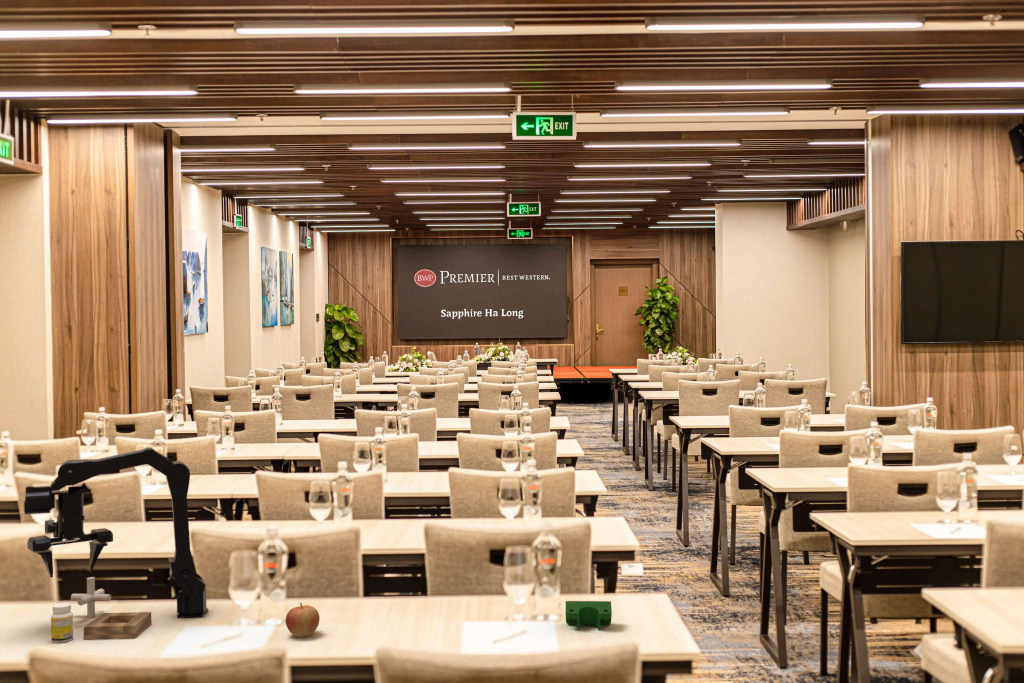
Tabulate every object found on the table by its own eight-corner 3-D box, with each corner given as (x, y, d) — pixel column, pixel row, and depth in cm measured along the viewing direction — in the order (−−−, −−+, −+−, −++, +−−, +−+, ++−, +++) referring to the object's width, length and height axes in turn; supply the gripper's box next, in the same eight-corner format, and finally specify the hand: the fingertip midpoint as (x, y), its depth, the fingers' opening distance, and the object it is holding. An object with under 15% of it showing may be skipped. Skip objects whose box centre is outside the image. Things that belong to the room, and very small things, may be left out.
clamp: (574, 647, 233) (558, 615, 231) (574, 633, 239) (559, 603, 237) (619, 629, 231) (604, 598, 229) (618, 617, 237) (603, 586, 235)
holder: (151, 623, 241) (151, 611, 241) (134, 638, 229) (134, 625, 229) (102, 625, 241) (102, 613, 241) (83, 639, 229) (83, 626, 229)
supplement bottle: (56, 637, 230) (55, 602, 231) (76, 636, 231) (75, 601, 231) (48, 643, 226) (47, 607, 226) (68, 642, 226) (68, 607, 226)
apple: (289, 642, 225) (288, 608, 225) (282, 633, 232) (282, 600, 232) (323, 638, 228) (322, 604, 228) (316, 629, 235) (315, 596, 235)
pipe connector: (119, 611, 253) (119, 573, 253) (99, 622, 243) (99, 583, 243) (83, 611, 254) (83, 573, 254) (61, 621, 244) (61, 582, 244)
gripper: (99, 503, 251) (100, 563, 250) (21, 511, 239) (22, 574, 238) (113, 508, 242) (113, 570, 242) (33, 517, 230) (33, 582, 230)
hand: (71, 574), depth 238 cm, fingers open, 9 cm apart
